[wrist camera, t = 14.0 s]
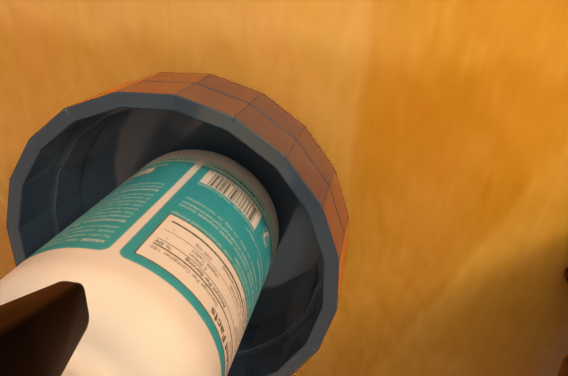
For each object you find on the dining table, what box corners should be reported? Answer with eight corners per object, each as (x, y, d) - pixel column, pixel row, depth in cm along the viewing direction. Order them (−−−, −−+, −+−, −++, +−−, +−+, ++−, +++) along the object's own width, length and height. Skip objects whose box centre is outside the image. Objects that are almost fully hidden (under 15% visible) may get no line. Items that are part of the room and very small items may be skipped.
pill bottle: (133, 264, 25) (-107, 527, 13) (136, 128, 22) (-172, 310, 10) (272, 299, 24) (153, 617, 12) (296, 163, 21) (168, 409, 9)
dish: (414, 206, 22) (419, 259, 18) (240, 377, 28) (214, 446, 24) (151, 0, 20) (91, 6, 16) (30, 227, 26) (-36, 272, 22)
